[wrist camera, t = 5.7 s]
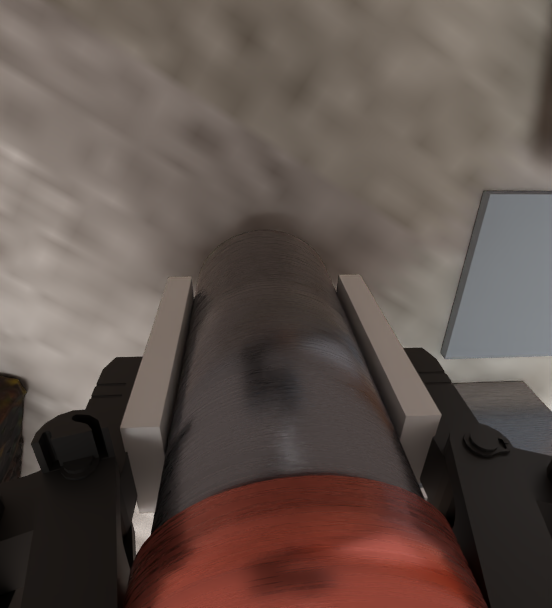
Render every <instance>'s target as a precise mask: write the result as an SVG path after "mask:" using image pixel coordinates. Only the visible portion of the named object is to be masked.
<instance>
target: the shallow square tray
mask: <svg viewBox="0 0 552 608" xmlns="http://www.w3.org/2000/svg"><path fill="white" fill-rule="evenodd" d="M453 385H454V386H455V388H456V389H457V391H458V392H459V394H460V395H461V397H462V398H463V400H464V401H465V403H466V404H467V406H468V407H469V408H470V410H471V411H472V413H473V414H474V416H475V417H476V419H477V420H478V422H479V423H481V424H484V425H488V426H489V427H491V428H493V429H495V430H497V431H499V432H500V433H501V434H502V435H504V436H505V437H506V438H507V439H508V440H509V441H510V443H511V444H512V446H513V447H515V448H518V449H522V450H527V451H531V452H536V453H541V454H545V455H550V456H552V412H551V411H550V409H549V408H548V407H547V406H546V405H545V404H544V403H543V402H542V401H541V400H540V399H539V398H538V397H537V396H536V395H535V393H534V392H533V391H532V390H531V389H530V388H529V387H528V386H527V385H526V384H525V383H524V382H523V381H514V382H486V383H458V384H453ZM419 486H420V489H421V491H422V493H423V496H424V498H425V500H426V501H427V498H428V497H427V495H426V493H425V490H424V488H423V486H422V484H421V481H420V485H419Z"/></svg>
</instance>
